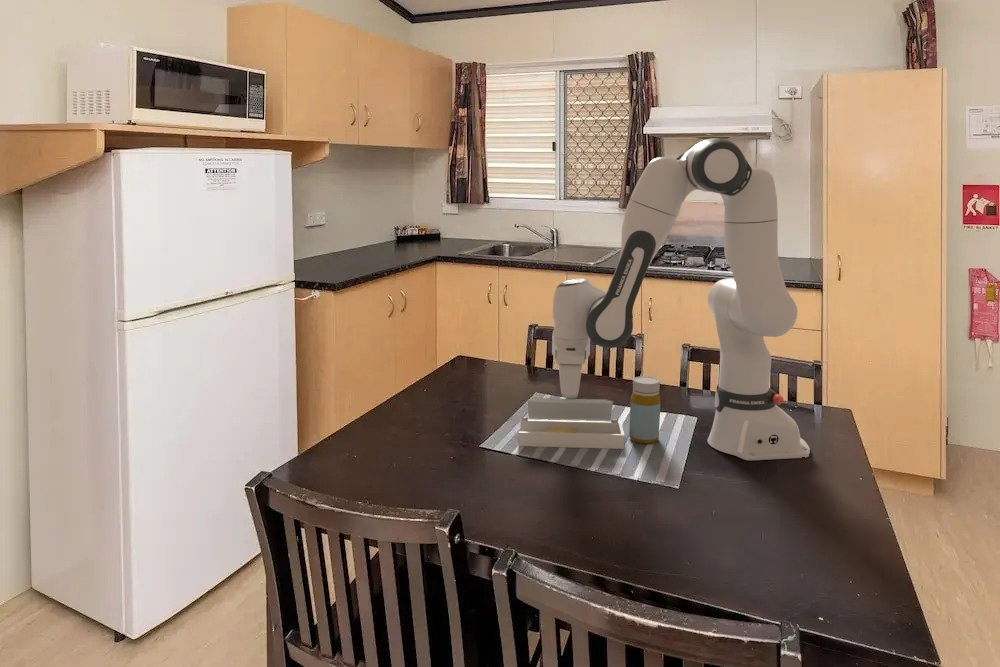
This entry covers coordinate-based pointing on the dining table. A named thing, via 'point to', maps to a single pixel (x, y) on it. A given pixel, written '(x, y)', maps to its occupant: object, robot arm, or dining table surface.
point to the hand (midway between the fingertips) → (569, 403)
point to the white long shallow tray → (571, 434)
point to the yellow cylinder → (563, 430)
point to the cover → (570, 409)
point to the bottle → (645, 410)
